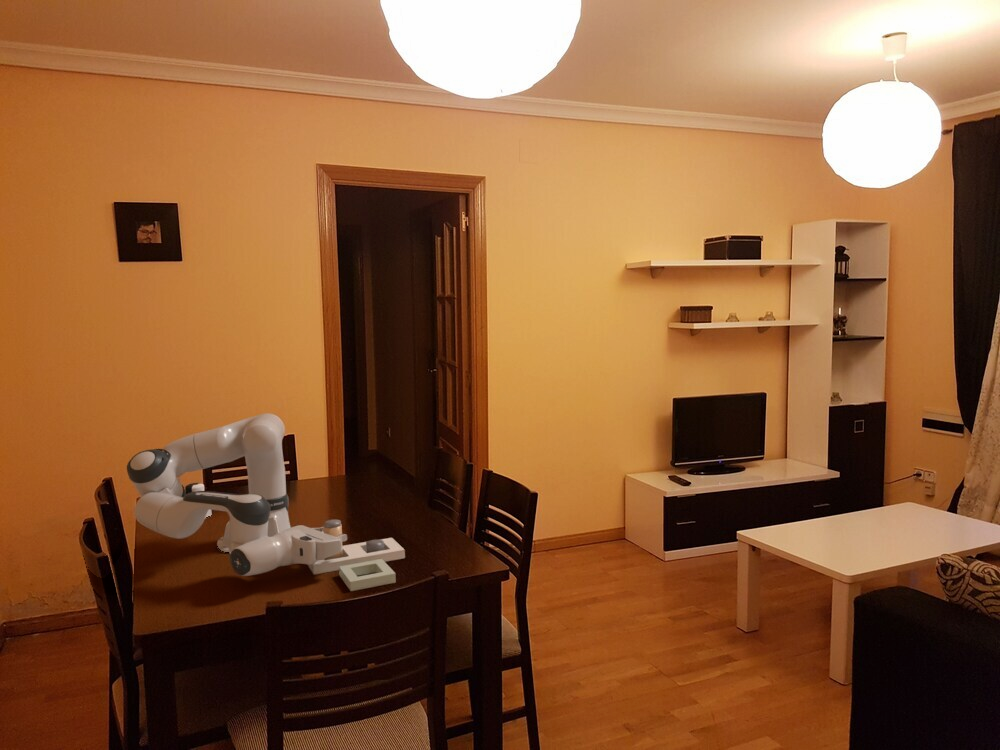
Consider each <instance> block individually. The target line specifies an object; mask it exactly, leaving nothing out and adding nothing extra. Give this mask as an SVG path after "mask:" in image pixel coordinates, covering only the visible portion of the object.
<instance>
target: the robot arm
mask: <svg viewBox="0 0 1000 750" xmlns="http://www.w3.org/2000/svg"><path fill="white" fill-rule="evenodd" d="M285 433H286V427H285V424H284V422H283V420H282V419H281V418H280V417H279V416H278V415H276V414H273V413H267V412H266V413H261V414H257V415H254V416H251V417H248V418H245V419H242V420H239V421H238V420H237V421H235V422H232V423H229V424H225V425H224V426H220V427H216V428H213V429H209V430H204V431H200V432H197V433H192V434H190V435H186V436H183V437H180V438H178V439H175V440H174V441H171V442H169V443H167V444H166V445H164V447H163V448H154V449H153V448H151V449H146V450H142V451H139V452H138V453H136V454H134V455H133V456H132V457H131V459H130V460H129V461H128V462H127V465H126V471H127V476H128V478H129V480H130V481H131V482H132V484H133V486H134V488H135V490H136V491H137V493H138V495H140V498H139V499H138V500H137V501H136V503H135V505H134V513H133V514H134V517H135V519H136V520H137V522H138V523H139V524H141V525H143V526H144V527H146V528H147V529H149V530H151V531H153V532H155V533H157V534H160V535H163V536H165V537H168V538H172V539H177V540H178V539H180V540H181V539H186V538H188V537H190V536H193V534H195V533H196V532H197V531H199V529H200V528H201V527H202V525H203V524H204V521H205V520H206V518H205V517H206V514H207V512H208V510H211V511H219V512H220V511H221V512H226V513H227V515H228V516H229V520H228V522H227V523H226V525H225V528H224V535H223V536H221V537H220V538H219V539H217V542H216V546H218V547H217V549H218V548H219V549H220V550H221V551H220V550H219V549H218V550H219V551H220V552H222V551H224V552H223V553H225V552H229V563H230V565H231V566H230V567H231V569H232V570H233V571H234V572H235V573H236V574H237V575H239V576H242V577H248V576H249V577H250V576H256V575H261V574H264V573H267V572H272V571H274V570H276V569H277V568H279V567H285V566H286V567H287V566H289V565H296V564H297V565H298V564H299V565H300V564H302V565H307V564H309V565H310V564H314V563H316V560H321V559H325V558H328V557H331V556H333V555H336V554H338V553H340V552H341V550H342V546H343V542H346V541H348V535H347V534H345V533H342V534H340V535H339V536H338V537H334V536H332V535H329V534H326V533H324V528H323V526H321V527H308V526H306V525H303V524H301V525H299V524H298V525H296V526H292V525H291V523H290V518H289V517H290V516H289V508H290V507H289V506H290V505H289V496H288V493H287V484H286V483H287V482H286V480H287V479H286V467H285V462H284V461H285V460H284V453H283V439H284V437H285ZM243 457H244V459H245V465H246V471H247V483H248V484H247V486H248V493H232V492H231V493H230V492H224V491H223V492H220V491H212V490H204V491H195V492H191V493H188V494H186V493H185V486H184V485H183V484H182V482H181V480H180V477H181V476H183V475H184V474H186V473H189V472H196V471H201V470H205V469H208V468H213V467H215V466H216V467H217V466H219V465H223V464H226V463H227V464H228V463H231V462H234V461H236V460H238V459H240V458H243Z"/></svg>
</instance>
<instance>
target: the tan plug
mask: <svg viewBox="0 0 1000 750" xmlns="http://www.w3.org/2000/svg"><path fill="white" fill-rule="evenodd" d="M322 527H323V528H324V533H326V534H329V535H332V536H334V537H338V536H339V535H340V534H343V529H342V528H343V526H342V521H341V520H340V519H328V520H326V521H324V522H323V526H322ZM342 557H343V548H342V550H341V552H340V553H338V554H336V555H333V556H331V557H328V558H325V560H330V559H336V558H342ZM325 560H324V561H325Z"/></svg>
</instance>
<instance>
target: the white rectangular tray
mask: <svg viewBox="0 0 1000 750" xmlns="http://www.w3.org/2000/svg"><path fill="white" fill-rule="evenodd" d="M342 548H343V557H342V558H336V559H330V560H325V559H321V560H316V563H314V564H310V565H309V564H306V565H307V566H308V568H309V569H310V571H311V573H312V574H313V575H319V574H324V573H330V572H331V573H332V572H335V571H339V566H345V565H351V564H356V563H362V562H367V561H373V560H379V559H383V561H384V562H385V563H387V562H391V561H397V560H401V559H405V558H406V550H405V549H404V547H402V546H401V545H400V544H399V543H398V542H397V541H396V540H395V539H394V538H393V537H388V538H380V539H371V540H367V541H364V542H358V543H352V544H350V543H349V544H346V545H342Z"/></svg>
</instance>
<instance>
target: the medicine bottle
mask: <svg viewBox="0 0 1000 750" xmlns="http://www.w3.org/2000/svg"><path fill="white" fill-rule="evenodd" d="M184 489H185V493H186V494H188V493H191V492H195V491H205V484H203V483H201V482H193V483H189V484H187V485H186V486H184ZM211 515H213V514H212V510H208V512H207V514H206V517H208V516H210V517H212V516H211ZM206 517H205V519H207V518H206ZM208 518H209V517H208Z"/></svg>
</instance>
